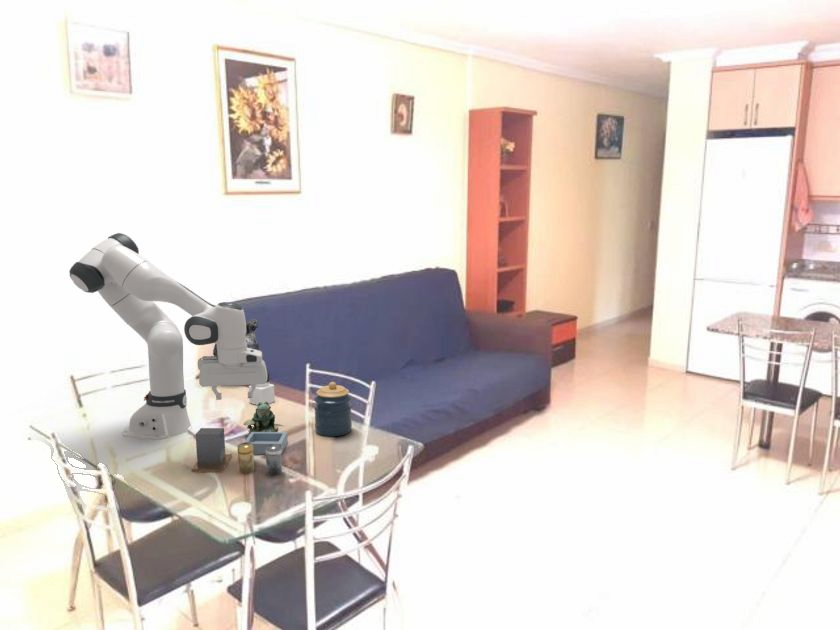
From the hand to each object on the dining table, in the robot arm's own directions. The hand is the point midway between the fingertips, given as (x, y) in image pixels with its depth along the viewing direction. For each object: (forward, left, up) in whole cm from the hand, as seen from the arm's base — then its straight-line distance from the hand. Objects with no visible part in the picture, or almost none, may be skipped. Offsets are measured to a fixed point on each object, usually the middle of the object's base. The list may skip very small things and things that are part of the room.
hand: (234, 398), depth 196 cm
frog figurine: (+3, +21, -20) cm, 29 cm away
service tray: (+7, +7, -19) cm, 22 cm away
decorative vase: (-22, +80, -19) cm, 85 cm away
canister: (+27, +23, -19) cm, 41 cm away
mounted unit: (-6, -6, -19) cm, 21 cm away
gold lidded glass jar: (+5, -10, -19) cm, 22 cm away
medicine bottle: (-5, +53, -19) cm, 56 cm away
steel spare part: (+14, -11, -19) cm, 26 cm away
